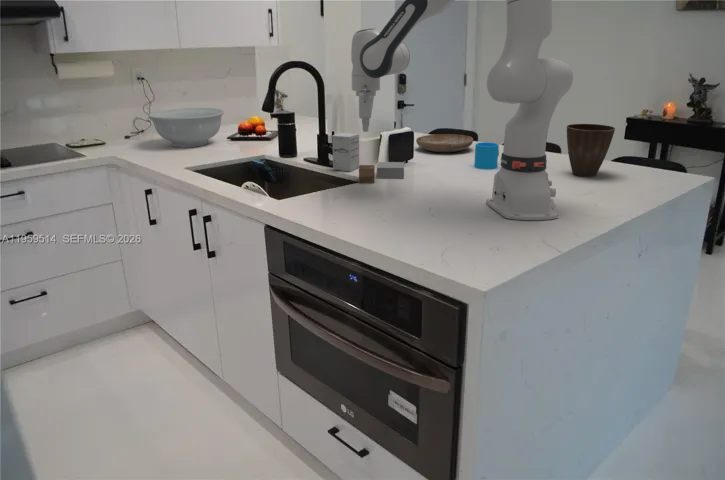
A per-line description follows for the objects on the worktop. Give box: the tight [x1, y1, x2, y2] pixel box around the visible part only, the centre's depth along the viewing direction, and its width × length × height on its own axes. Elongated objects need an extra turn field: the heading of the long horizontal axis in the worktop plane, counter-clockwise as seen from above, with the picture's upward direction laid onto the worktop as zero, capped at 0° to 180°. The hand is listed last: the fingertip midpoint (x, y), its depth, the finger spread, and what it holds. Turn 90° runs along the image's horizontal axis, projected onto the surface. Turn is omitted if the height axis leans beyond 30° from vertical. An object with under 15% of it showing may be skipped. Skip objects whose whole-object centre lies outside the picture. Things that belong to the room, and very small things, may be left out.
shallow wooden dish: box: [415, 133, 474, 153], centre depth 230 cm, size 23×24×5 cm
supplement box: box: [332, 132, 360, 173], centre depth 197 cm, size 7×7×13 cm
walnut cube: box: [358, 164, 376, 184], centre depth 181 cm, size 5×5×5 cm
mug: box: [473, 141, 500, 170], centre depth 199 cm, size 12×8×8 cm
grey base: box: [376, 161, 405, 180], centre depth 189 cm, size 9×9×4 cm
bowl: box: [148, 107, 225, 149], centre depth 248 cm, size 32×32×15 cm
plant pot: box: [566, 123, 616, 178], centre depth 184 cm, size 15×15×16 cm
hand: (366, 129), depth 176 cm, fingers open, 8 cm apart
